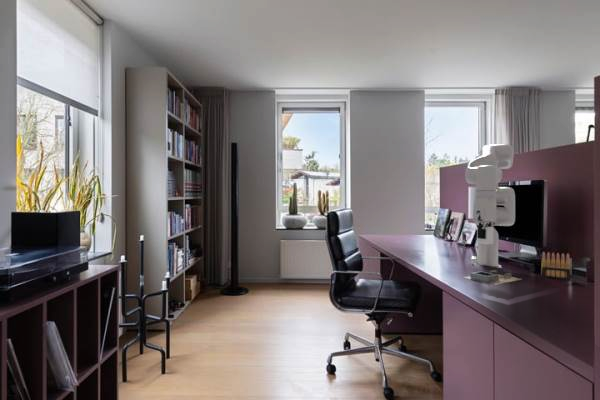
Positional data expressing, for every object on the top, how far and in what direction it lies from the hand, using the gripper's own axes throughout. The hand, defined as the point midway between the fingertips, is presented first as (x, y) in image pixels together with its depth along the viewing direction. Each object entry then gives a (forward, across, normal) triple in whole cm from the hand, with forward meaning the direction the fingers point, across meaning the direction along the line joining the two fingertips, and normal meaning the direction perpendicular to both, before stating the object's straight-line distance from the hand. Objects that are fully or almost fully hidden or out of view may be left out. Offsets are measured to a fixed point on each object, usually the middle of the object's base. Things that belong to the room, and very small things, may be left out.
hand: (485, 237), depth 140 cm
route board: (+19, -6, 0) cm, 20 cm away
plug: (+2, 0, 0) cm, 2 cm away
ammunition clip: (+20, -38, +10) cm, 44 cm away
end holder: (+18, 0, 0) cm, 18 cm away
